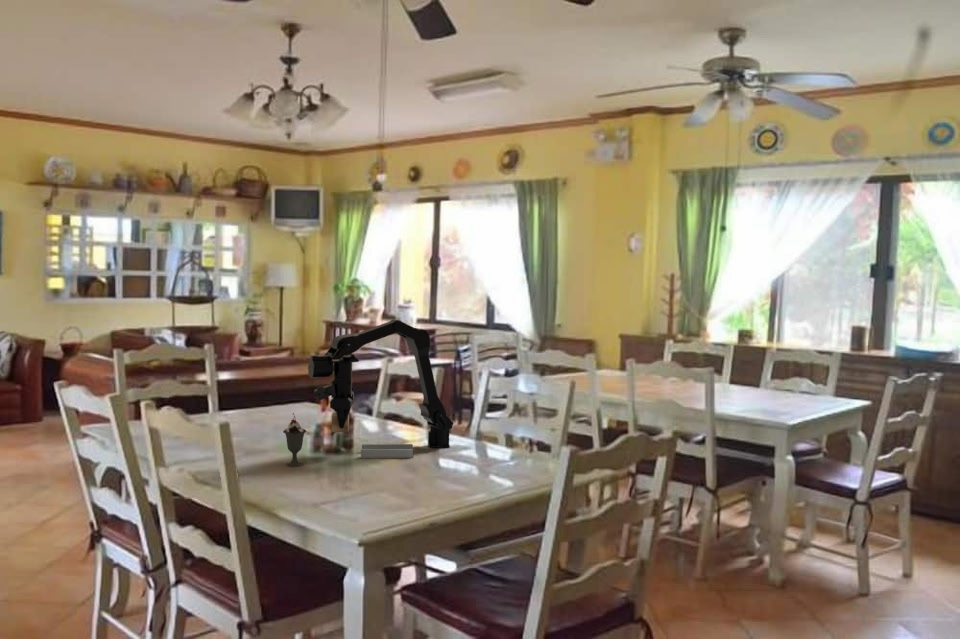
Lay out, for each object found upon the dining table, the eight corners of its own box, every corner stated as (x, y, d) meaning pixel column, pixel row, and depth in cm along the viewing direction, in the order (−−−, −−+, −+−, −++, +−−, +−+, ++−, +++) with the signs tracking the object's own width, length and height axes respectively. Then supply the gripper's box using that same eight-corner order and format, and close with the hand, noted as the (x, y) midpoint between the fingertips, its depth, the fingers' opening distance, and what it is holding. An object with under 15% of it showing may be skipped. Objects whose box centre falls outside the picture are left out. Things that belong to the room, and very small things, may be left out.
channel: (412, 451, 270) (412, 444, 270) (413, 457, 262) (413, 449, 261) (361, 451, 268) (362, 443, 268) (360, 457, 260) (360, 449, 260)
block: (348, 429, 266) (349, 413, 265) (347, 432, 261) (348, 416, 260) (332, 428, 265) (332, 413, 265) (331, 432, 260) (331, 416, 260)
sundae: (293, 460, 254) (294, 411, 253) (310, 464, 250) (311, 413, 249) (278, 465, 248) (278, 414, 247) (295, 468, 245) (295, 417, 244)
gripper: (319, 372, 270) (318, 420, 271) (313, 380, 252) (312, 432, 253) (354, 372, 271) (353, 420, 272) (351, 380, 253) (350, 432, 254)
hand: (342, 426), depth 263 cm, fingers closed on block, 5 cm apart
